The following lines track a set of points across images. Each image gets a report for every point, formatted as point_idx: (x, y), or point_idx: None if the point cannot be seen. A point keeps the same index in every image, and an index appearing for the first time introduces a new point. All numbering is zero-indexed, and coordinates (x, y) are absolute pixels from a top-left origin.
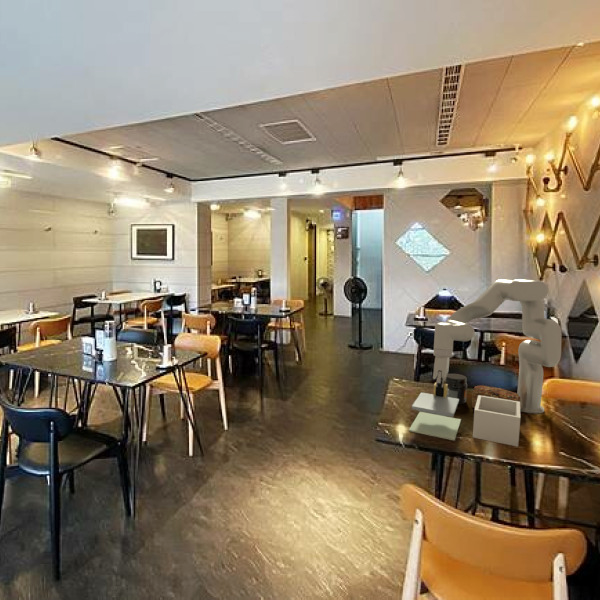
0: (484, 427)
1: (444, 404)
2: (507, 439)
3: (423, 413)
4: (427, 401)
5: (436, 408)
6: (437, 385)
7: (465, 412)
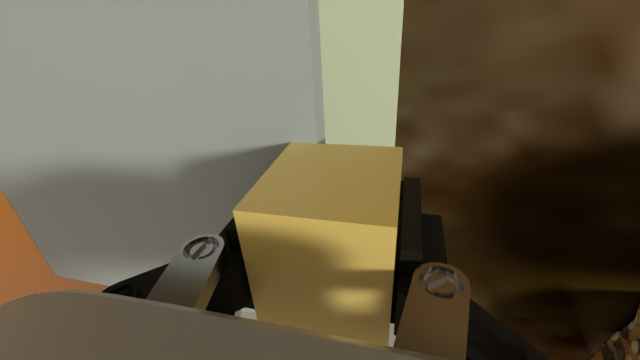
0: None
1: (140, 237)
2: None
3: (376, 10)
4: (87, 116)
5: (34, 194)
6: (155, 269)
7: (542, 254)
